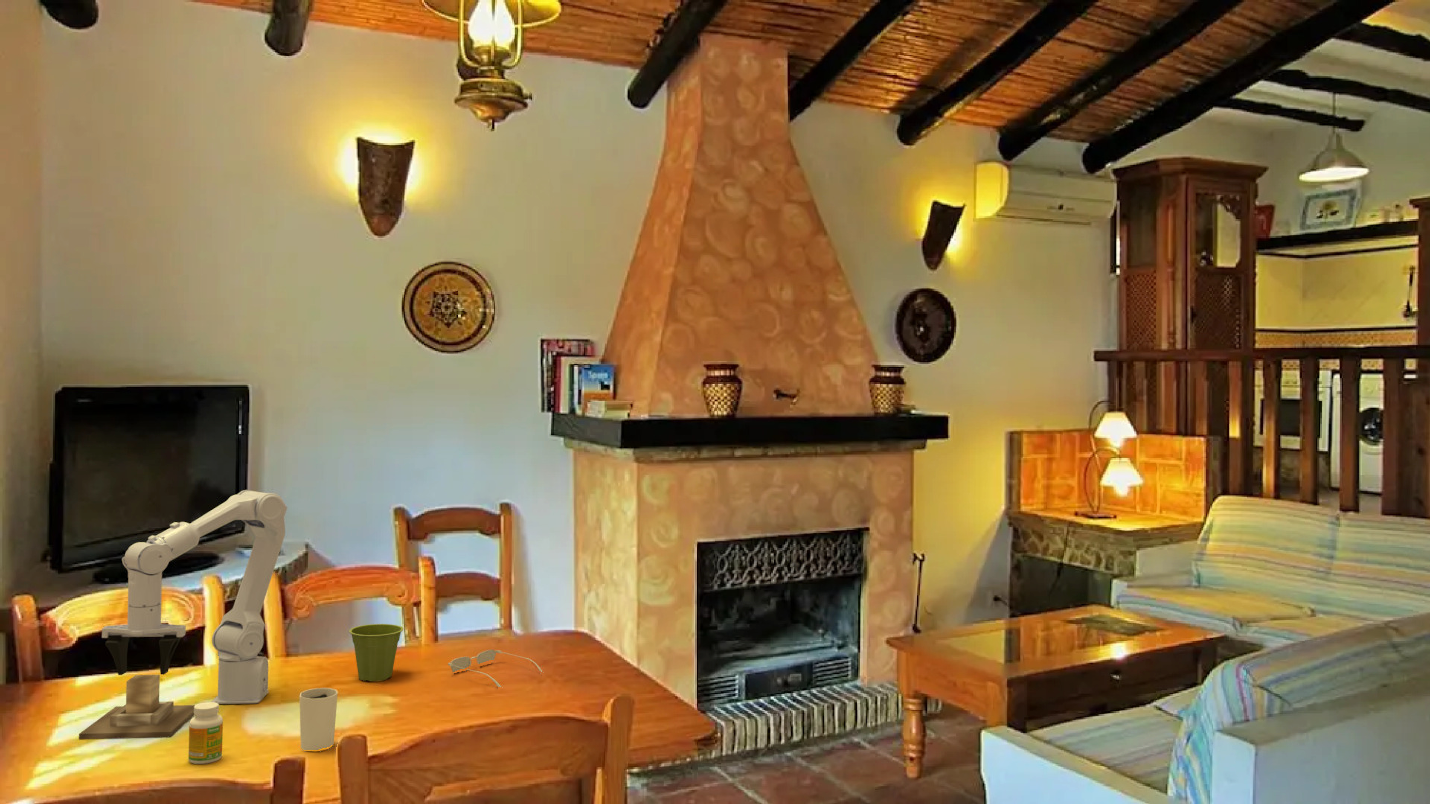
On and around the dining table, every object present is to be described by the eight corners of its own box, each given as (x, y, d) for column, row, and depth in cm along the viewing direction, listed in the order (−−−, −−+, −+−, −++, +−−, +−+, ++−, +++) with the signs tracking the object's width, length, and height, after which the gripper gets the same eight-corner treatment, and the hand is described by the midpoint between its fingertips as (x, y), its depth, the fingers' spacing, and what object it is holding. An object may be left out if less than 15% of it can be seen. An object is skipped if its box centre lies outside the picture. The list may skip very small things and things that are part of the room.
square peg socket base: (200, 709, 207) (200, 695, 207) (170, 737, 191) (170, 721, 191) (115, 711, 204) (116, 696, 204) (78, 739, 189) (79, 723, 189)
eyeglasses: (496, 663, 249) (497, 647, 248) (549, 678, 238) (549, 661, 238) (446, 677, 236) (447, 660, 236) (499, 693, 225) (500, 675, 225)
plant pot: (413, 676, 234) (414, 628, 234) (370, 688, 224) (372, 638, 224) (379, 667, 241) (380, 620, 240) (336, 679, 231) (338, 630, 230)
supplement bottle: (207, 766, 178) (209, 711, 177) (181, 763, 179) (182, 708, 179) (228, 755, 183) (229, 702, 183) (202, 752, 184) (203, 699, 184)
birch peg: (158, 714, 200) (159, 674, 200) (150, 722, 196) (150, 681, 196) (134, 715, 200) (135, 675, 199) (125, 722, 195) (126, 681, 195)
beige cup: (304, 740, 192) (306, 687, 191) (340, 740, 192) (342, 688, 192) (293, 753, 185) (294, 698, 185) (330, 753, 186) (331, 699, 185)
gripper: (95, 609, 192) (94, 680, 193) (176, 608, 195) (175, 678, 195) (111, 601, 199) (110, 669, 200) (189, 600, 202) (188, 668, 202)
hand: (143, 673), depth 198 cm, fingers open, 7 cm apart
